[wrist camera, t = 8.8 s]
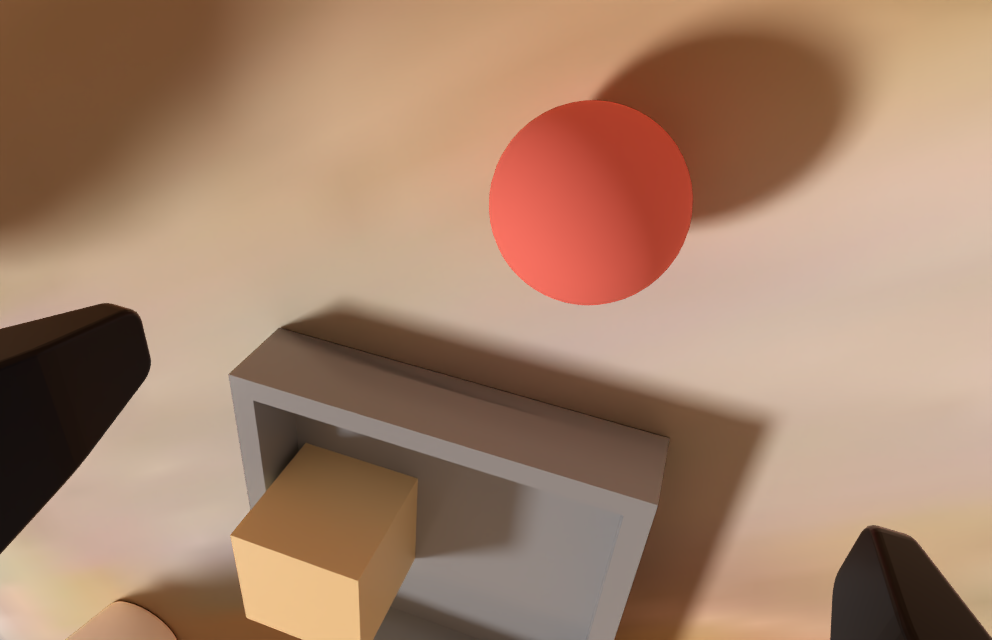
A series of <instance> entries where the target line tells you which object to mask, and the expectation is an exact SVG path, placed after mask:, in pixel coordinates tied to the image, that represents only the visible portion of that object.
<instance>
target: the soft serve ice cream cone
mask: <svg viewBox="0 0 992 640" xmlns="http://www.w3.org/2000/svg"><path fill="white" fill-rule="evenodd" d="M65 640H177V639H176V637H175V635H174V634H173V632H172V631H171V630H170V629H169V628H168V626H167V625H166V624H165V623H164V622H162V621H161V620H160V619H159V618H158V617H156V616H155V615H154V614H152V613H151V612H149V611H147V610H145V609H144V608H142V607H139V606H137V605H134V604H131V603H128V602H122V601H118V602H114V603H111V604H110V605H108V606H107V607H106V608H105V609H103V610H102V611H101V612H100V613H98V614H97V615H96V616H94V617H93V618H92V619H91V620H89V621H88V622H87V623H86V624H84V625H83V626H82V627H81V628H79V629H78V630H77V631H75V632H74V633H73V634H72V635H70V636H69V637H68V638H67V639H65Z"/></svg>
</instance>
